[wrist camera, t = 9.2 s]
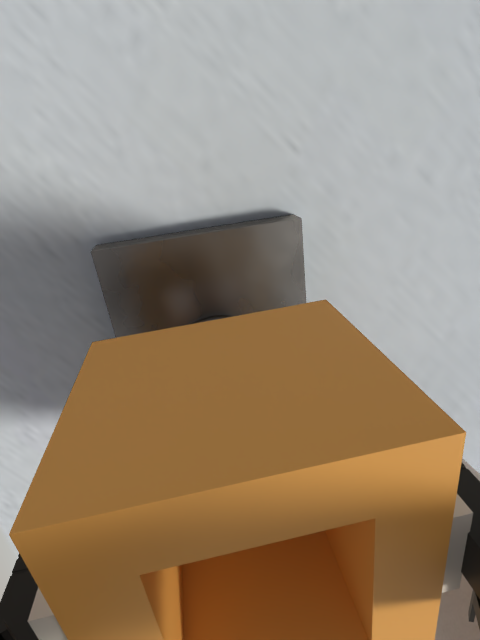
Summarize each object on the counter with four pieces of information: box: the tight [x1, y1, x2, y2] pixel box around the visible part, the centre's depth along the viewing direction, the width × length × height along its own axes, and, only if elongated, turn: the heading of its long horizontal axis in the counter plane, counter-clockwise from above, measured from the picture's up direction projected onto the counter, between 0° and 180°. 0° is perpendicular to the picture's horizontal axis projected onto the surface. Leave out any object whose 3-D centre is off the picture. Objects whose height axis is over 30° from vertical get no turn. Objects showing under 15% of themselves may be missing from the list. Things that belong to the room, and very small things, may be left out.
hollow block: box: [9, 300, 466, 640], centre depth 11 cm, size 8×8×7 cm
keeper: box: [91, 214, 306, 338], centre depth 16 cm, size 12×9×9 cm
